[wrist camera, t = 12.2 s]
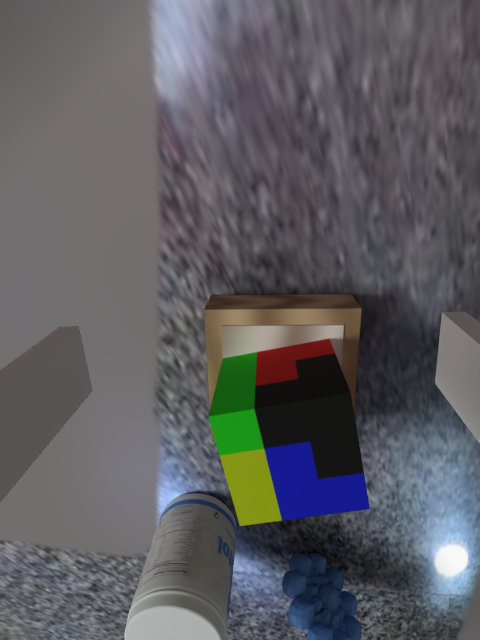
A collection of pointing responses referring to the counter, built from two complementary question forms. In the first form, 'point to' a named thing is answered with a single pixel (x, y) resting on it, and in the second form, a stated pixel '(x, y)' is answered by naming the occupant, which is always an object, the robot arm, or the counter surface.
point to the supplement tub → (186, 573)
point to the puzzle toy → (288, 434)
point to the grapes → (320, 599)
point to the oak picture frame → (281, 328)
